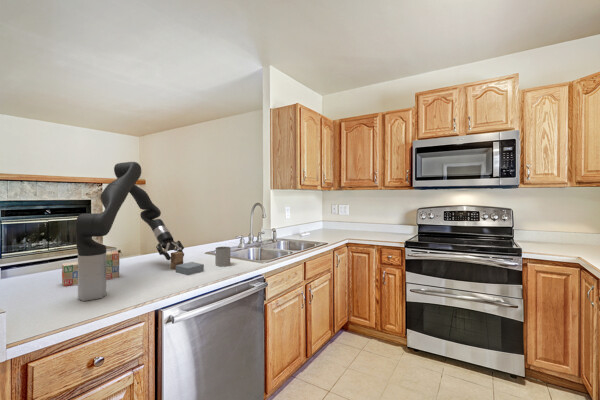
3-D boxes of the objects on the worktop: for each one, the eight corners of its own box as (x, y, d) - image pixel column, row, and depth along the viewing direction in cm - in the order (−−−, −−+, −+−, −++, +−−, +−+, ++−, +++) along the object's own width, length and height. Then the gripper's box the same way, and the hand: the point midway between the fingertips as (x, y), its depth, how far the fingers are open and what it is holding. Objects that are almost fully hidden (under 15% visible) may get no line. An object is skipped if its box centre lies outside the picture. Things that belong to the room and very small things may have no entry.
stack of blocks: (63, 287, 127) (63, 259, 126) (61, 283, 131) (61, 256, 131) (119, 277, 142) (119, 252, 142) (116, 274, 146) (116, 250, 146)
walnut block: (183, 268, 160) (183, 252, 160) (176, 270, 156) (176, 253, 156) (177, 267, 162) (177, 251, 162) (170, 269, 158) (170, 252, 158)
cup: (233, 264, 171) (233, 247, 170) (222, 267, 164) (222, 249, 163) (223, 262, 175) (223, 246, 175) (212, 265, 168) (212, 248, 168)
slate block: (203, 271, 155) (203, 264, 155) (187, 276, 147) (187, 268, 147) (191, 268, 161) (191, 261, 161) (175, 273, 152) (175, 265, 152)
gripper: (154, 232, 157) (168, 256, 151) (177, 229, 169) (190, 251, 164) (148, 241, 159) (161, 264, 154) (171, 238, 172) (184, 259, 167)
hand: (176, 257), depth 159 cm, fingers open, 8 cm apart
